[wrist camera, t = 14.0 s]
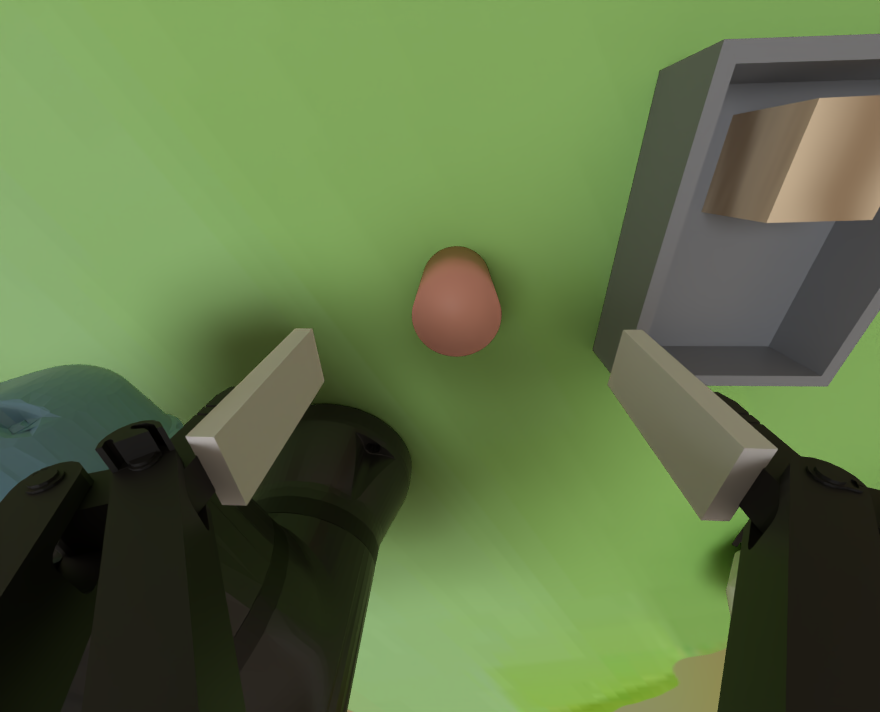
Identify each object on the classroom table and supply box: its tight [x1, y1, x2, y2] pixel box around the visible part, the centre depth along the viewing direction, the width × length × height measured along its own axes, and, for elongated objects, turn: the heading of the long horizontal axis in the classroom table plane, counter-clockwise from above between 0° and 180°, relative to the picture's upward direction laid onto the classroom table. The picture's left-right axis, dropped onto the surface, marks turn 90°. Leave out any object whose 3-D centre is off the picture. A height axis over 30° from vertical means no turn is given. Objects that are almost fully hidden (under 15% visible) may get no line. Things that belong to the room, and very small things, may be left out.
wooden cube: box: [701, 95, 880, 223], centre depth 17 cm, size 5×5×5 cm
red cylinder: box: [412, 246, 501, 357], centre depth 21 cm, size 5×5×7 cm
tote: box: [593, 34, 880, 386], centre depth 20 cm, size 18×14×5 cm
